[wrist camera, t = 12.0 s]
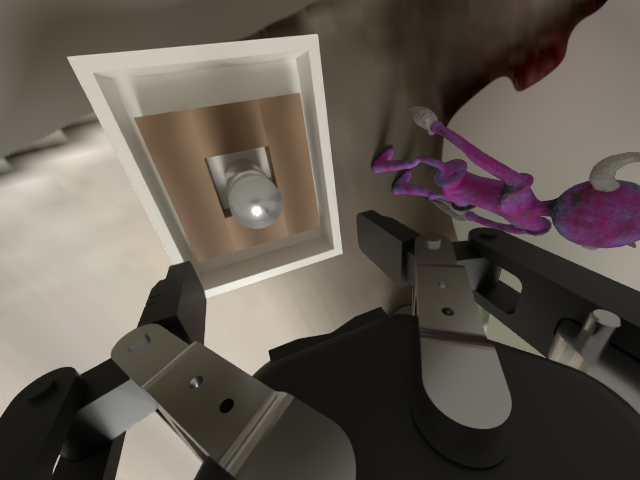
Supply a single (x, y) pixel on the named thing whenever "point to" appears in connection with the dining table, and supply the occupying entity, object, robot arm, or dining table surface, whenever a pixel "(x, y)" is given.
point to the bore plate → (224, 138)
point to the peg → (252, 195)
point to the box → (209, 90)
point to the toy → (525, 193)
